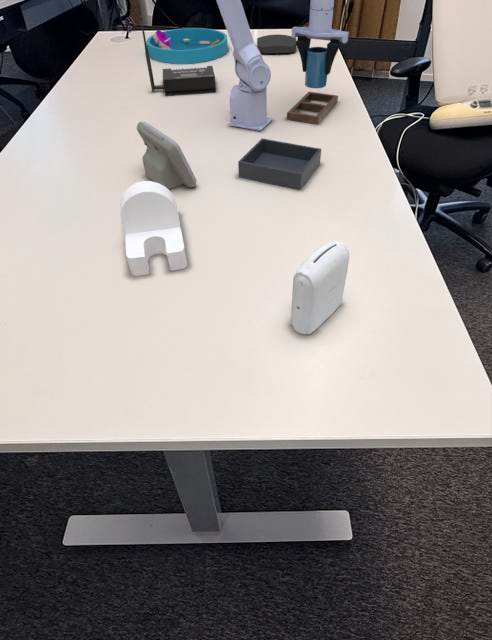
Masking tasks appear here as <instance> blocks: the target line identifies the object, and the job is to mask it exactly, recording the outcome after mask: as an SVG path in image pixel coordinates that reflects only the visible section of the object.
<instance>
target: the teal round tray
mask: <svg viewBox="0 0 492 640" xmlns="http://www.w3.org/2000/svg"><path fill="white" fill-rule="evenodd" d="M146 44H147V48H148V52H149V57H150V59H153V60H154V61H157V62H161V63H167V64H177V65H178V64H179V65H182V64H183V65H185V64H187V65H188V64H198V63H205V62H209V61H214V60H217V59H220V58H222V57H224V56H225V55H226V54H227V53H228V51H229V46H228V45H229V44H228V35H227V34H226V33H225V32H223V31H220V30H217V29H214V28H205V27H204V28H203V27H183V28H174V29H168V30H164V31H162V30H159V29H157V30H156V31H155V33H154V34H151V35H150V36H149V37H148V38H146Z"/></svg>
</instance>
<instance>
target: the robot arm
mask: <svg viewBox="0 0 492 640" xmlns="http://www.w3.org/2000/svg"><path fill="white" fill-rule="evenodd" d="M215 1H216V4H217V6H218V9H219V13H220V15H221V18H222V21H223V23H224V27H225V29H226V31H227V34H228V37H229V40H230V43H231V45H232V48H233V51H232V56H233V60H234V73H235V75H236V77H237V78H238V79H239V81H238V84H234V85H232V87H231V89H230V92H229V93H230V94H229V113H230V114H229V115H230V116H229V117H230V123H229V126H230V127H236V128H241V129H247V130H252V131H259V132H260V131H262V130H264V129H265V127H267V126H268V125H269V124H270V123H271V122H272V121H273V118H271V117H268V116H267V113H268V112H267V111H268V110H267V109H268V107H267V106H268V105H267V103H268V102H267V100H268V98H267V97H268V94H267V93H268V92H267V90H268V88H267V87H268V85H269V84H270V83H271V77H272V72H271V68H270V65H268V64H267V63H266V62H265V60H264V59H263V56H262V53H260V51H259V50H258V48H257V44H256V43H255V40H254V37H253V34H252V32H251V28H250V25H249V22H248V19H247V16H246V12H245V10H244V5H243V3H242V1H241V0H215ZM334 7H335V0H310V5H309V19H308V21H309V22H308V26H293V27H292V28H291V36H292V38H296V49H297V51H298V53H299V56H300V61H301V66H302V72H303V73H306V57H307V49H308V48H311V41H312V40H319V41H328V43H327V44H326V48H327V63H326V72H325V75H327V76H328V75H330V74H331V72H332V71H331V70H332V68H333V67H332V66H333V64H334V60H335V58H336V55H337V54H338V51H339V49H340V47H341V45H342V44H347V43H348V41H349V35H350V32H349V31H344V30H339V29H335V28H333V27H332V26H333V18H334Z"/></svg>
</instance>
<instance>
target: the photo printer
mask: <svg viewBox="0 0 492 640" xmlns="http://www.w3.org/2000/svg"><path fill="white" fill-rule="evenodd" d="M350 255H351V254H350V251H349V249H348V246H347V245H346V244H345V243H343V242H340V241H339V240H334V241H329V242H328V243H326V244H323V245H322V246H320V247H319V248H317V249H316V250H314V251H313V252H312V253H311V254H310V255H309V256H308V257H307V258H305V260H304V261H303V262H302V263H301V264H300V265H299V267H298V268H297V270H296V271H295V273H294V275H293V278H292V293H291V310H290V311H291V313H290V324H291V326H292V328H293V331H295V332H297V333H298V334H301V335H304V336H305V335H310V334H312V333H314V332H315V331H316V330H317V329H318V328H319V327H320V326H322V325H323V324H324V322H326V321H327V320H328V319H329V318H330V317H331V316H332V315H333V314H334V313H335V311H337V309H338V308H339V307H340V306H341V304H342V301H343V296H344V292H345V285H346V280H347V274H348V269H349V262H350Z"/></svg>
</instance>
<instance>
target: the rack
mask: <svg viewBox="0 0 492 640" xmlns="http://www.w3.org/2000/svg"><path fill="white" fill-rule="evenodd" d="M338 100H339V95H338V94H337V95H336V94H331V93H322V92H315V91H308V92H307V93H306V94H305V95H304V96H303V97H301V99H299V100H298V102H296V103H295V105H293V106H292V107H291V108H290V109H289V110H288V111H287V112H286V120H289V121H294V122H300V123H305V124H306V123H307V124H312V125H319V124H320V123H321V122H322V121H323V119H324V118H325V117H326V116H327V115H328V113H330V112H331V110H332V109H333V108H334V107H335V106H336V104H337V103H338ZM309 101H317V102H325V103H326V104H322V103H314V102H309ZM301 110H303V111H308V112H314V113H315V112H316V113H317V114H315V115H314V114H310V113H309V114H308V113H301V112H300V111H301Z"/></svg>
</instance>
